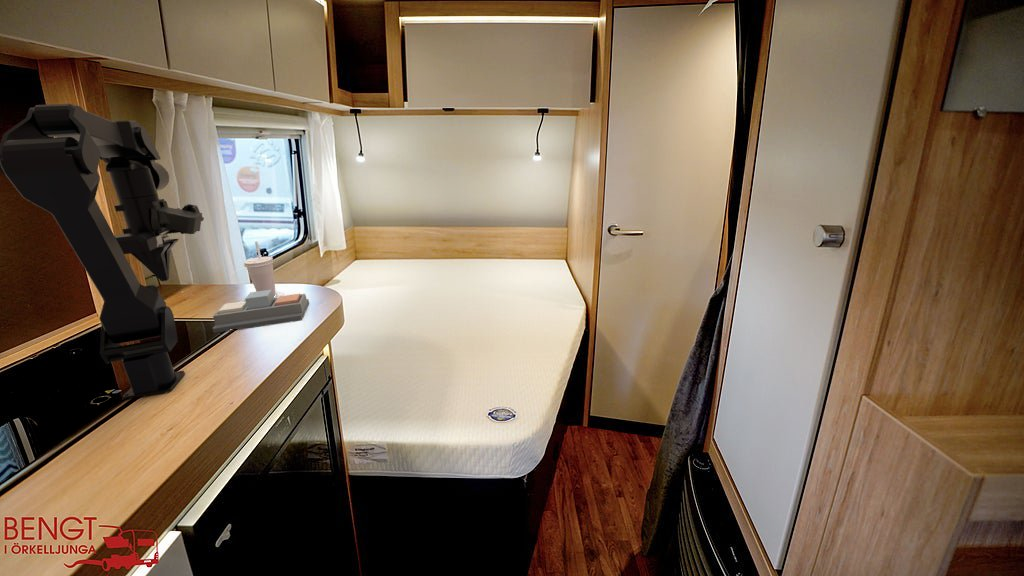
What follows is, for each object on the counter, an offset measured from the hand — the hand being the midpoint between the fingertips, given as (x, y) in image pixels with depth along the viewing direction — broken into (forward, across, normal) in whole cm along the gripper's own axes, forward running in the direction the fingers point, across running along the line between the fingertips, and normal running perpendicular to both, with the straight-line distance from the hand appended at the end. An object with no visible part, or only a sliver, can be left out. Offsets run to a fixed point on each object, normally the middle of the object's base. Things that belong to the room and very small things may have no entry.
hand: (165, 280), depth 88 cm
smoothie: (+13, +24, -10) cm, 29 cm away
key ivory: (+12, +9, -7) cm, 16 cm away
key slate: (+10, +9, -13) cm, 18 cm away
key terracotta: (+12, +9, -18) cm, 23 cm away
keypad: (+13, +9, -12) cm, 20 cm away
